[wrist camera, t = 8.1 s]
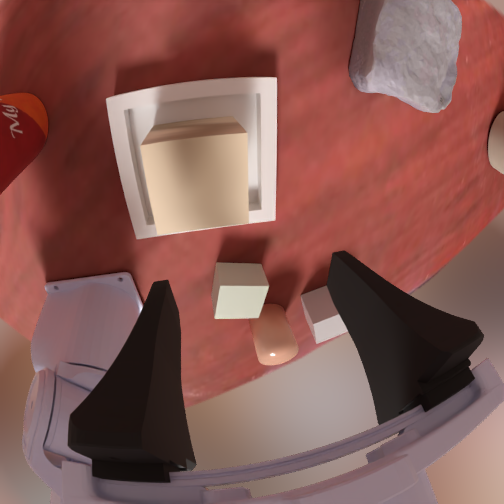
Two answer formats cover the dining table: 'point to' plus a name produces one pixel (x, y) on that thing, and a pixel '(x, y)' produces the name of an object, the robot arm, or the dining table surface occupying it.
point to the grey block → (322, 315)
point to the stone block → (407, 50)
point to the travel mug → (497, 143)
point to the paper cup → (20, 134)
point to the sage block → (238, 290)
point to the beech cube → (197, 174)
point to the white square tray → (191, 108)
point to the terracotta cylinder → (273, 335)
